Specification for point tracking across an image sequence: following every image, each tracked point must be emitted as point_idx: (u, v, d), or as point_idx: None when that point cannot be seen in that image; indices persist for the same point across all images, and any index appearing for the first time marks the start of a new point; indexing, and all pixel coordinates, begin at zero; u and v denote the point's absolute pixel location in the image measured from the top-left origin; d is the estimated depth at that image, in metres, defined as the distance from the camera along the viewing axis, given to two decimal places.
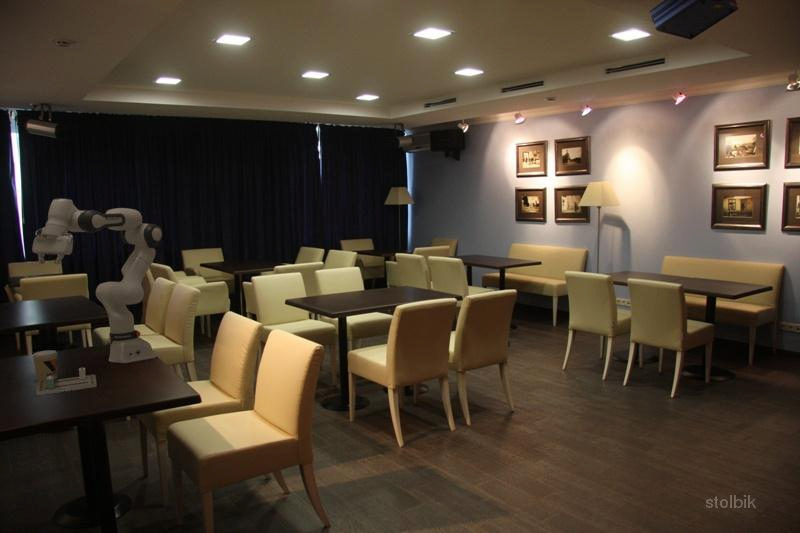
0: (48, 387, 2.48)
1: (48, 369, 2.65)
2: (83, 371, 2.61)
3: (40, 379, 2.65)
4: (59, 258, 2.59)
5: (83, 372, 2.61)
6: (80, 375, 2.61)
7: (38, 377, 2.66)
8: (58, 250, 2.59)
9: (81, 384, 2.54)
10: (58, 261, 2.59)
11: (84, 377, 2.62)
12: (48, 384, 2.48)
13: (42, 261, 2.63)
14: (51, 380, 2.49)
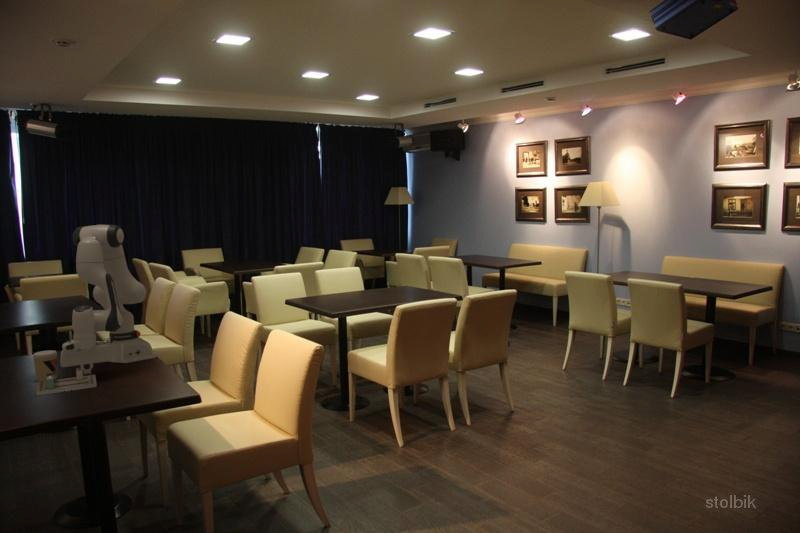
0: (48, 387, 2.48)
1: (48, 369, 2.65)
2: (80, 371, 2.61)
3: (40, 379, 2.65)
4: (91, 367, 2.64)
5: (80, 372, 2.61)
6: (77, 375, 2.60)
7: (38, 377, 2.66)
8: (101, 360, 2.65)
9: (81, 384, 2.54)
10: (90, 370, 2.65)
11: (81, 377, 2.61)
12: (48, 384, 2.48)
13: None
14: (51, 380, 2.49)
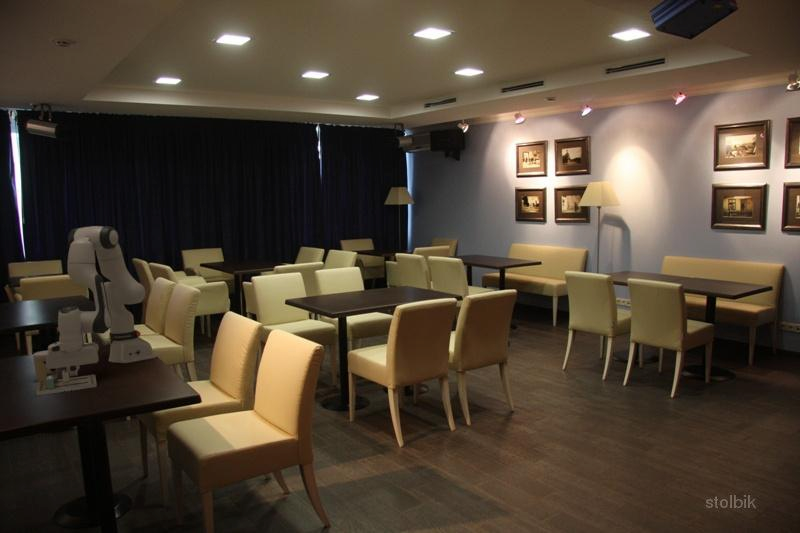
0: (48, 387, 2.48)
1: (48, 369, 2.65)
2: (66, 373, 2.58)
3: (40, 379, 2.65)
4: (78, 369, 2.62)
5: (66, 374, 2.58)
6: (63, 377, 2.58)
7: (38, 377, 2.66)
8: (88, 362, 2.62)
9: (81, 384, 2.54)
10: None
11: (67, 379, 2.59)
12: (48, 384, 2.48)
13: None
14: (51, 380, 2.49)
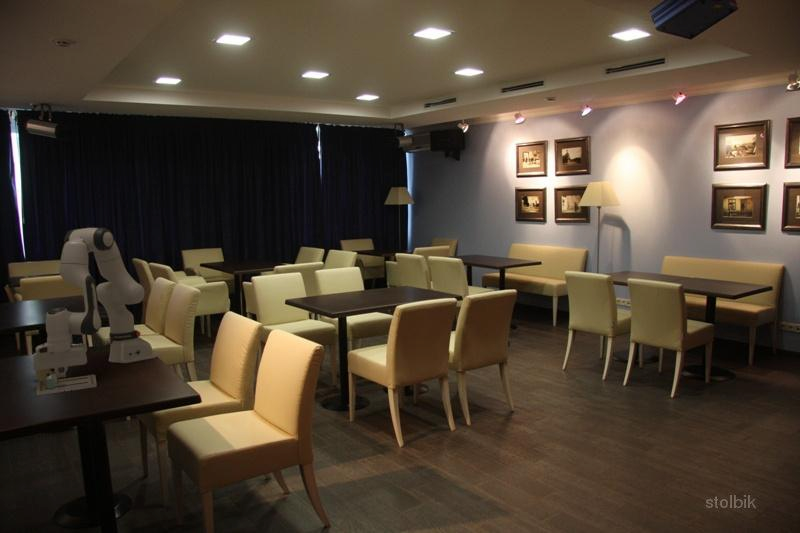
0: (48, 387, 2.48)
1: (48, 369, 2.65)
2: (54, 375, 2.56)
3: (40, 379, 2.65)
4: None
5: (54, 376, 2.56)
6: None
7: (38, 377, 2.66)
8: (76, 363, 2.60)
9: (81, 384, 2.54)
10: None
11: (55, 381, 2.57)
12: (48, 384, 2.48)
13: (61, 375, 2.59)
14: (51, 380, 2.49)
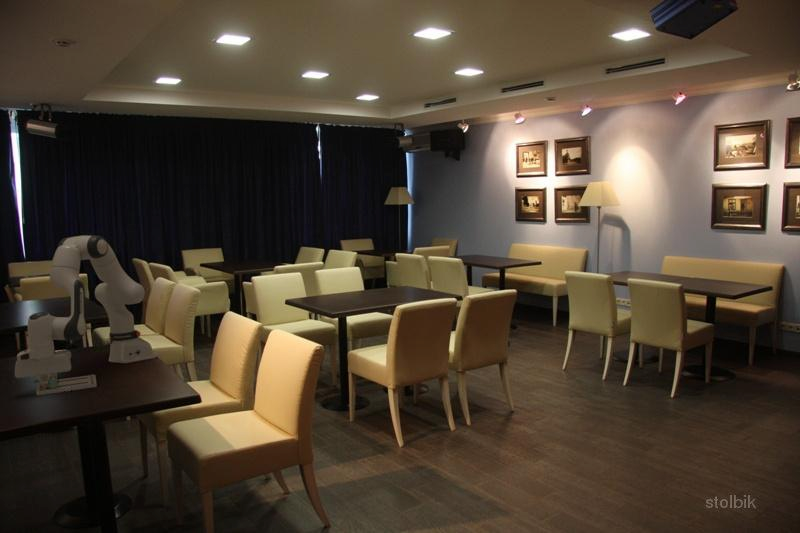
0: (51, 387, 2.49)
1: None
2: (54, 375, 2.56)
3: None
4: (49, 378, 2.50)
5: None
6: None
7: None
8: (60, 370, 2.50)
9: (81, 384, 2.54)
10: (48, 381, 2.50)
11: None
12: (51, 384, 2.49)
13: None
14: (54, 380, 2.49)
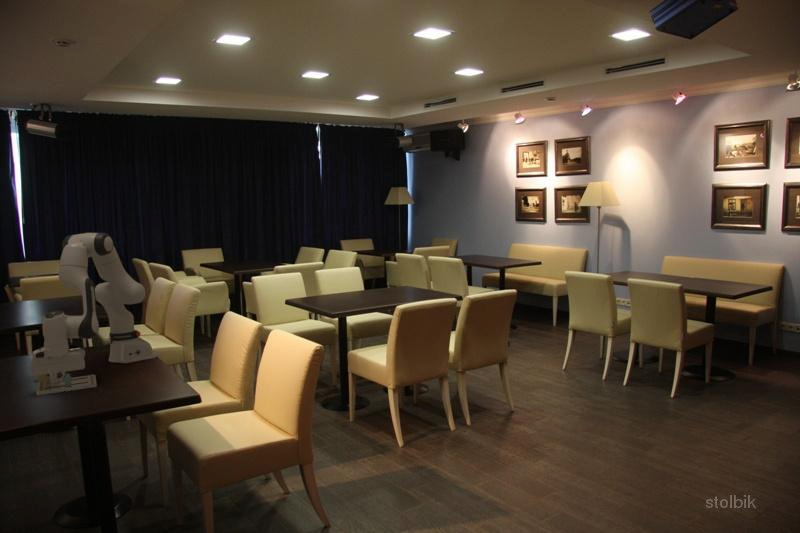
0: (66, 385, 2.52)
1: None
2: None
3: (40, 379, 2.65)
4: None
5: None
6: (51, 379, 2.56)
7: (38, 377, 2.66)
8: (74, 368, 2.53)
9: (81, 384, 2.54)
10: (62, 379, 2.53)
11: None
12: (66, 382, 2.51)
13: None
14: (69, 378, 2.52)
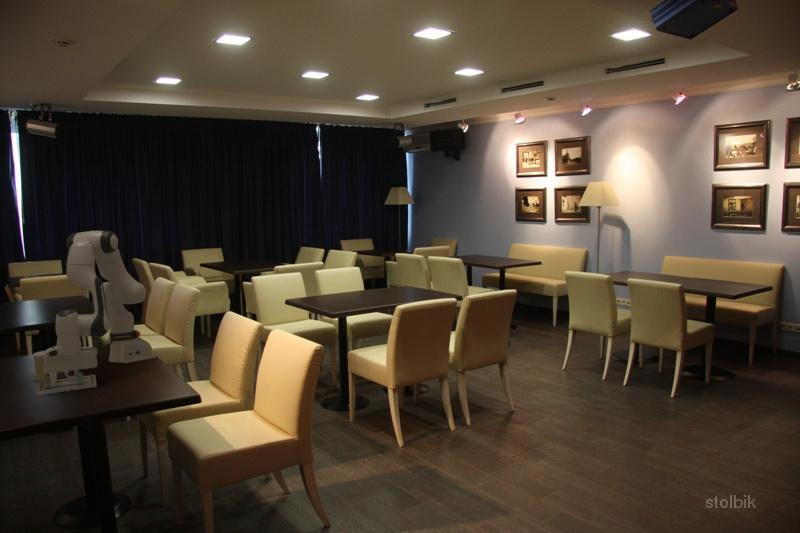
0: (78, 383, 2.54)
1: None
2: (54, 375, 2.56)
3: (40, 379, 2.65)
4: (76, 374, 2.55)
5: (54, 376, 2.56)
6: (51, 379, 2.56)
7: (38, 377, 2.66)
8: (86, 366, 2.55)
9: (81, 384, 2.54)
10: (75, 377, 2.55)
11: (55, 381, 2.57)
12: (78, 380, 2.54)
13: None
14: (81, 376, 2.54)
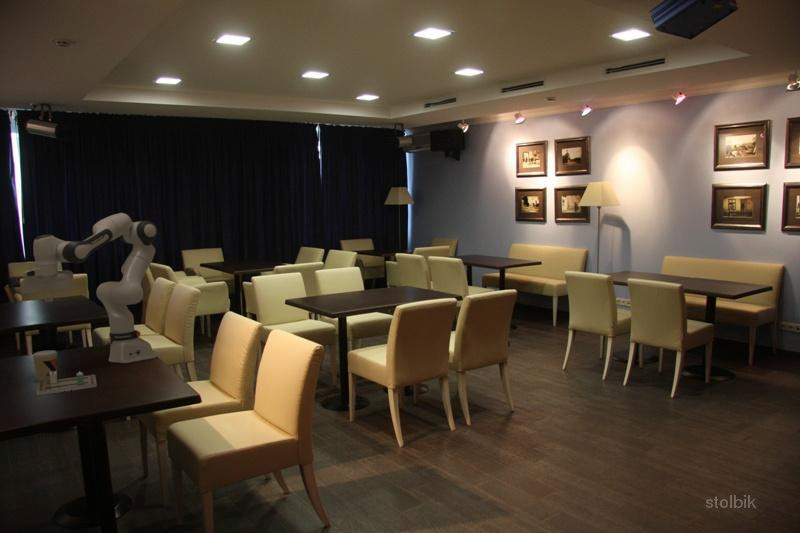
0: (78, 383, 2.54)
1: (48, 369, 2.65)
2: (54, 375, 2.56)
3: (40, 379, 2.65)
4: (53, 295, 2.72)
5: (54, 376, 2.56)
6: (51, 379, 2.56)
7: (38, 377, 2.66)
8: (63, 288, 2.72)
9: (81, 384, 2.54)
10: (52, 298, 2.72)
11: (55, 381, 2.57)
12: (78, 380, 2.54)
13: None
14: (81, 376, 2.54)
